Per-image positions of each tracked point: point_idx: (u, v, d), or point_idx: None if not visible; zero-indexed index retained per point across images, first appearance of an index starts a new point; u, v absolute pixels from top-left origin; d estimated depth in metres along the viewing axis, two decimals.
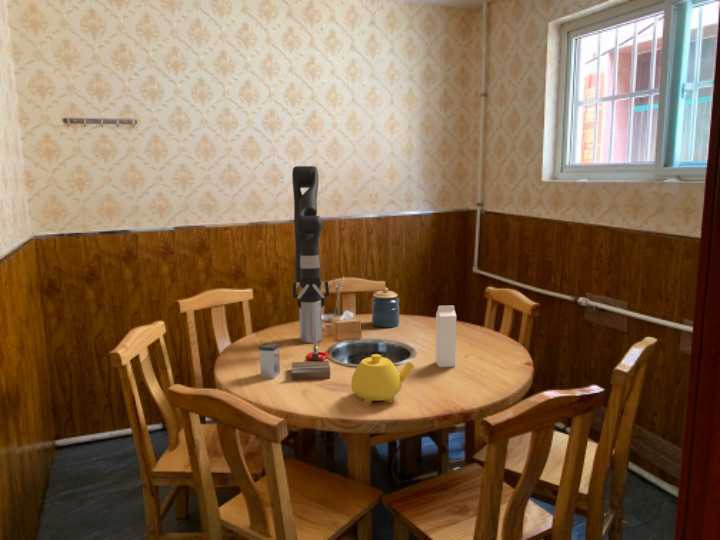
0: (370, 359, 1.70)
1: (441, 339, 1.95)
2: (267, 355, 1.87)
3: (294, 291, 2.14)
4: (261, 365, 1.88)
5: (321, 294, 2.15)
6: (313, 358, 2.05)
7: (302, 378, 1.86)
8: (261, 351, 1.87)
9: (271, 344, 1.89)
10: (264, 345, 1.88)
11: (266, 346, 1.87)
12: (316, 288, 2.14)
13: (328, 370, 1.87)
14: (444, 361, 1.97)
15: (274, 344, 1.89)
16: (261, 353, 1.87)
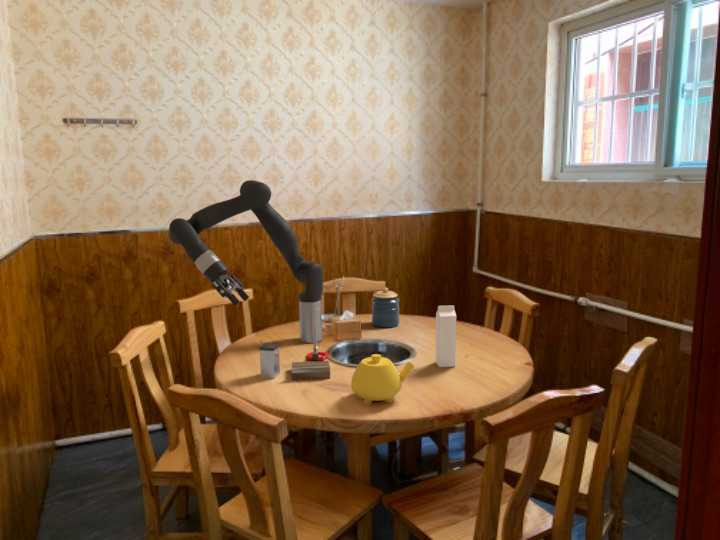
0: (370, 359, 1.70)
1: (441, 339, 1.95)
2: (267, 355, 1.87)
3: None
4: (261, 365, 1.88)
5: None
6: (313, 358, 2.05)
7: (302, 378, 1.86)
8: (261, 351, 1.87)
9: (271, 344, 1.89)
10: (264, 345, 1.88)
11: (266, 346, 1.87)
12: None
13: (328, 370, 1.87)
14: (444, 361, 1.97)
15: (274, 344, 1.89)
16: (261, 353, 1.87)
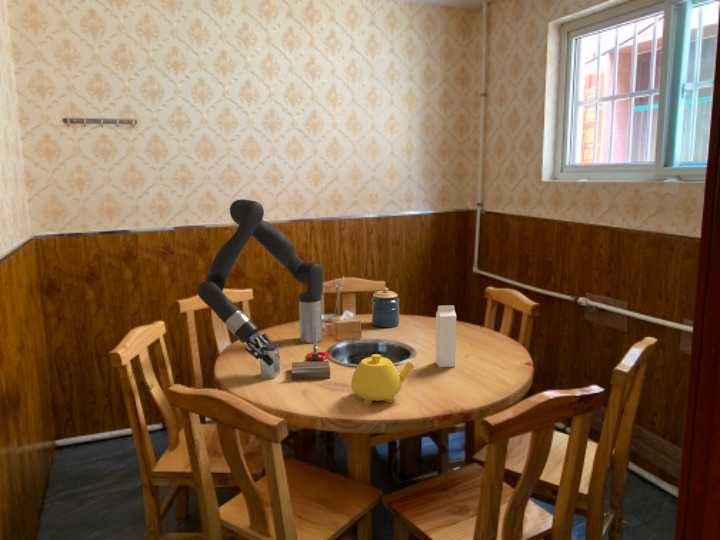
0: (370, 359, 1.70)
1: (441, 339, 1.95)
2: None
3: None
4: (261, 365, 1.88)
5: None
6: (313, 358, 2.05)
7: (302, 378, 1.86)
8: None
9: (271, 344, 1.89)
10: (264, 345, 1.88)
11: (266, 346, 1.87)
12: None
13: (328, 370, 1.87)
14: (444, 361, 1.97)
15: (274, 344, 1.89)
16: None
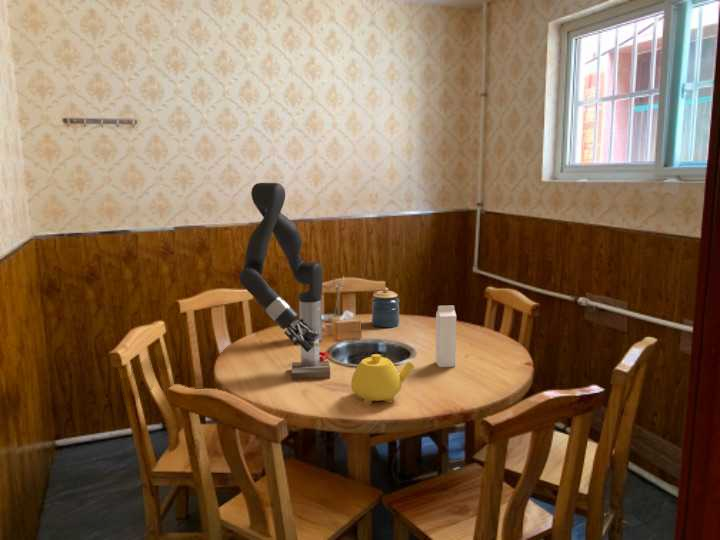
0: (370, 359, 1.70)
1: (441, 339, 1.95)
2: None
3: None
4: (302, 355, 1.90)
5: None
6: None
7: (302, 378, 1.86)
8: None
9: (311, 334, 1.92)
10: (305, 335, 1.90)
11: (307, 336, 1.90)
12: None
13: (328, 370, 1.87)
14: (444, 361, 1.97)
15: (314, 334, 1.92)
16: None
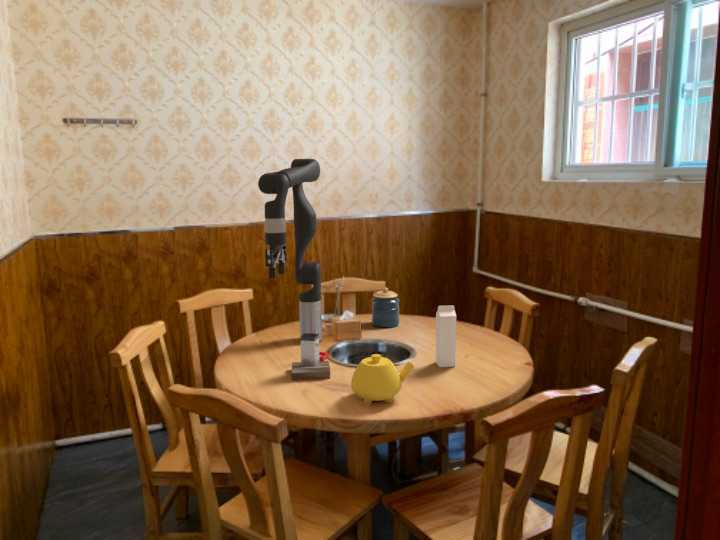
0: (370, 359, 1.70)
1: (441, 339, 1.95)
2: (308, 345, 1.89)
3: None
4: (302, 355, 1.90)
5: None
6: None
7: (302, 378, 1.86)
8: (302, 341, 1.89)
9: (311, 334, 1.92)
10: (305, 335, 1.90)
11: (307, 336, 1.90)
12: None
13: (328, 370, 1.87)
14: (444, 361, 1.97)
15: (314, 334, 1.92)
16: (302, 343, 1.89)
